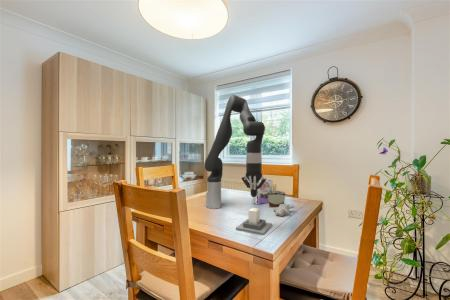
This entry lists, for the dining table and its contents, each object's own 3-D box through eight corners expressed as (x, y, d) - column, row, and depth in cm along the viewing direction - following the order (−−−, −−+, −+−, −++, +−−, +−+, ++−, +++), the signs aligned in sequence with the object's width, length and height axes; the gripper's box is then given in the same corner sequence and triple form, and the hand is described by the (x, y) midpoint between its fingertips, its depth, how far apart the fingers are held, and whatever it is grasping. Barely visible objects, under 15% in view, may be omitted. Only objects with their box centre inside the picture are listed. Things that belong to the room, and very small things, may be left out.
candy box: (257, 204, 149) (256, 181, 149) (252, 203, 155) (252, 180, 154) (272, 202, 156) (272, 179, 155) (267, 200, 161) (267, 178, 161)
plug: (248, 226, 107) (248, 210, 107) (252, 223, 111) (252, 207, 111) (256, 227, 105) (256, 211, 105) (259, 224, 110) (259, 208, 109)
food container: (284, 205, 148) (284, 190, 148) (286, 207, 142) (286, 192, 142) (266, 204, 149) (266, 190, 149) (266, 207, 143) (266, 192, 143)
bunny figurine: (270, 208, 127) (280, 200, 139) (270, 217, 128) (280, 208, 140) (286, 211, 121) (295, 202, 133) (286, 220, 122) (295, 210, 134)
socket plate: (235, 229, 106) (235, 223, 105) (247, 220, 118) (247, 215, 118) (263, 235, 99) (263, 228, 99) (272, 225, 111) (272, 219, 111)
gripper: (269, 161, 107) (269, 196, 108) (244, 160, 114) (244, 193, 114) (264, 163, 101) (264, 200, 101) (238, 162, 107) (238, 196, 108)
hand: (253, 196), depth 108 cm, fingers closed
